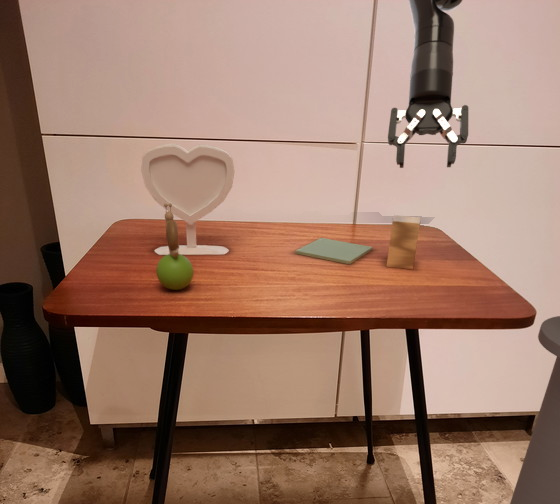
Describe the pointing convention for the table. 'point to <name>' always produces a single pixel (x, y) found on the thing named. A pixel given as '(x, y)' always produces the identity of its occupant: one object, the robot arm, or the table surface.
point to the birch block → (403, 242)
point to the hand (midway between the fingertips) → (425, 166)
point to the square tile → (334, 250)
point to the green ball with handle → (173, 259)
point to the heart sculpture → (188, 186)
